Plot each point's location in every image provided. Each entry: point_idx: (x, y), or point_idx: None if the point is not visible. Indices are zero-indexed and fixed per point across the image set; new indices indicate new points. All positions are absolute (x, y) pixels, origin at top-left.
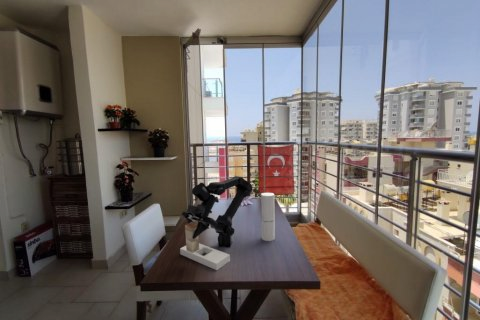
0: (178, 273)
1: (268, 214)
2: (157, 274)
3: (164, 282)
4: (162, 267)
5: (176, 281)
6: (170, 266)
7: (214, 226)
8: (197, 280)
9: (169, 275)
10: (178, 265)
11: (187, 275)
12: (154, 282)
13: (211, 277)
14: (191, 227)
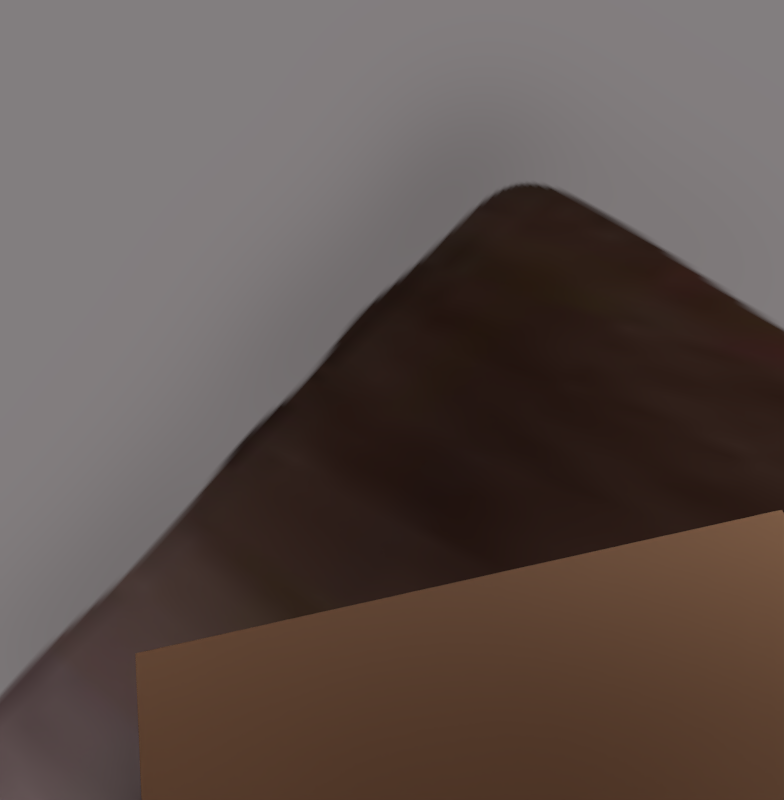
0: (436, 463)
1: None
2: (581, 283)
3: (390, 292)
4: (697, 369)
5: (315, 386)
6: (656, 452)
7: None
8: (157, 564)
9: (471, 371)
10: (611, 543)
11: (322, 525)
12: (460, 224)
13: (68, 730)
14: (165, 694)
